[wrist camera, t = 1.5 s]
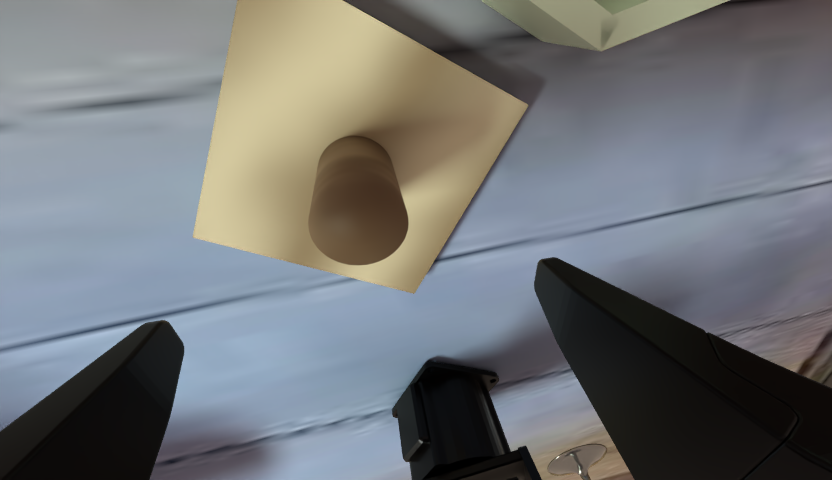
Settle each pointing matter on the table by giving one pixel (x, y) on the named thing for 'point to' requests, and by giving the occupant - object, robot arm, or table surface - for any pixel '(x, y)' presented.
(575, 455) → the wine glass
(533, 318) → the table surface
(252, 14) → the lid
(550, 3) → the bowl
